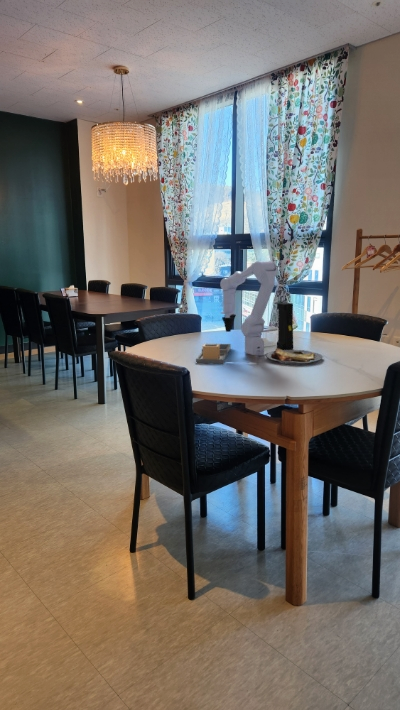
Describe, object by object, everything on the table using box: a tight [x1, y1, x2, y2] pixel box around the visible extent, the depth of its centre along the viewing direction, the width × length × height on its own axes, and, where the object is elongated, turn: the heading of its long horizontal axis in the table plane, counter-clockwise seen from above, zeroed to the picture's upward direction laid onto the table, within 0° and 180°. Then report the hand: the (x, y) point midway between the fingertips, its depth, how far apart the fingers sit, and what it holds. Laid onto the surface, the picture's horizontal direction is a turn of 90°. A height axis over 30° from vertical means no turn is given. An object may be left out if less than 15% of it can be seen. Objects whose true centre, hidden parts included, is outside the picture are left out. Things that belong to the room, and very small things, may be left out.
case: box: [201, 343, 232, 356], centre depth 228 cm, size 14×12×3 cm
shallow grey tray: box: [195, 351, 228, 365], centre depth 214 cm, size 15×12×2 cm
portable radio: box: [276, 297, 295, 350], centre depth 232 cm, size 8×6×25 cm
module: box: [202, 343, 221, 359], centre depth 213 cm, size 5×7×7 cm
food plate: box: [264, 348, 324, 365], centre depth 212 cm, size 25×23×4 cm
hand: (229, 330), depth 236 cm, fingers open, 7 cm apart
